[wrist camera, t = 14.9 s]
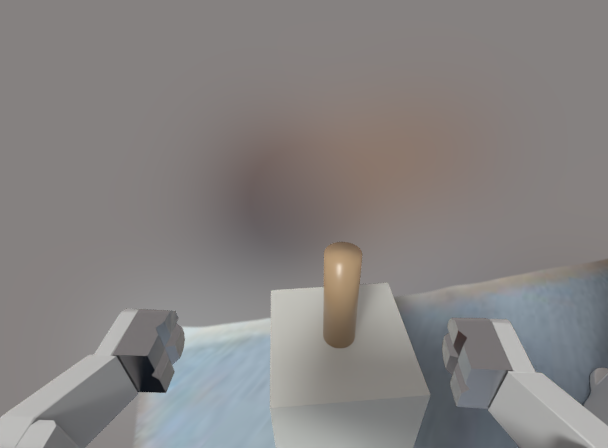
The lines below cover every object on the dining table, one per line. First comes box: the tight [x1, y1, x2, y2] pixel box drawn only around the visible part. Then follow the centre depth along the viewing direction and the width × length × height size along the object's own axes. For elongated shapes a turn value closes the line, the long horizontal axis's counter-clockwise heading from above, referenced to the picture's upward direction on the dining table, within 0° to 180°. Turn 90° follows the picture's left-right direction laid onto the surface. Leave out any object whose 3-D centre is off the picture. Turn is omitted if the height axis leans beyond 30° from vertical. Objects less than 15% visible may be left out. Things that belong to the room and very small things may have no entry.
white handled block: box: [270, 242, 431, 448], centre depth 34 cm, size 13×13×21 cm
